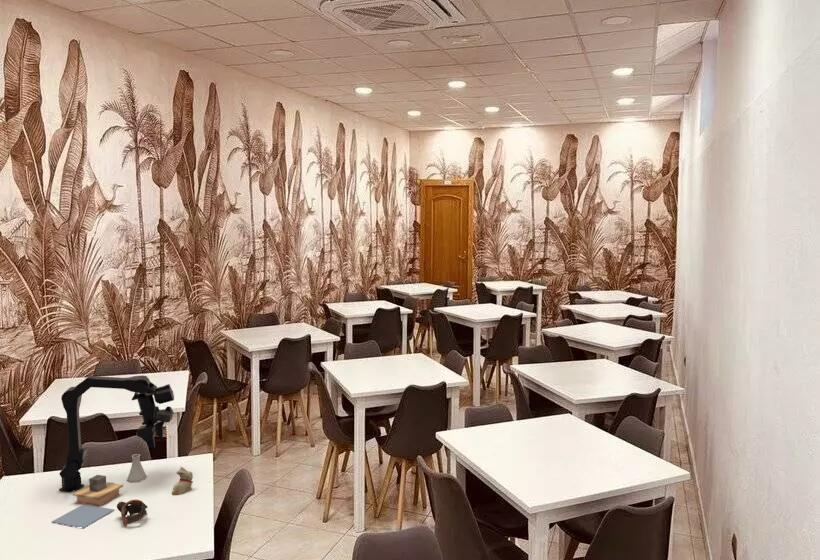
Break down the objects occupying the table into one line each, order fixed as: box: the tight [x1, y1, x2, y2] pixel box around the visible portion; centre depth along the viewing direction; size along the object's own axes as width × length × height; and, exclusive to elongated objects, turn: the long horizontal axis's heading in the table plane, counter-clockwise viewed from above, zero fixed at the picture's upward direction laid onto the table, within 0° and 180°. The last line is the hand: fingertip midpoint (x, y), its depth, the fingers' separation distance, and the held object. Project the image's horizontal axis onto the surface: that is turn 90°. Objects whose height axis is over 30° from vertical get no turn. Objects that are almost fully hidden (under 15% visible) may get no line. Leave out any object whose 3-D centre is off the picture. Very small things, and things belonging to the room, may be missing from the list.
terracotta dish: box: [76, 488, 120, 507], centre depth 234 cm, size 10×10×3 cm
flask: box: [126, 453, 148, 483], centre depth 251 cm, size 7×7×10 cm
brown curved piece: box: [116, 499, 149, 527], centre depth 217 cm, size 12×10×8 cm
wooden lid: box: [71, 474, 124, 500], centre depth 234 cm, size 12×12×5 cm
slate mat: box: [51, 503, 115, 529], centre depth 220 cm, size 14×14×1 cm
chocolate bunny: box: [171, 466, 194, 496], centre depth 240 cm, size 6×8×10 cm
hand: (157, 443), depth 250 cm, fingers open, 9 cm apart
